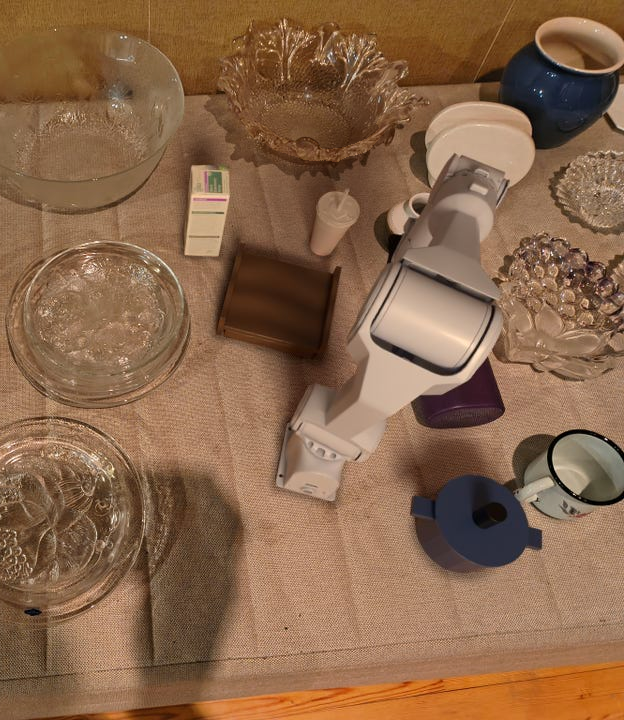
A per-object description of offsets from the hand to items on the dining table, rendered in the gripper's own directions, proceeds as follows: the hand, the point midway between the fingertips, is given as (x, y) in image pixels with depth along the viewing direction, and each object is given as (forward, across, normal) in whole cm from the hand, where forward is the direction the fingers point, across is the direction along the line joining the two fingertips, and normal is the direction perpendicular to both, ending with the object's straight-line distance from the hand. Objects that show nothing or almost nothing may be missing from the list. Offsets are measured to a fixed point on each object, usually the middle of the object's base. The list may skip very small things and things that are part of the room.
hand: (390, 302), depth 90 cm
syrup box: (+11, +13, +27) cm, 32 cm away
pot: (+10, -27, -12) cm, 32 cm away
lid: (+3, -27, -12) cm, 30 cm away
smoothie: (+11, +16, +8) cm, 21 cm away
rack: (+10, +3, +14) cm, 18 cm away
